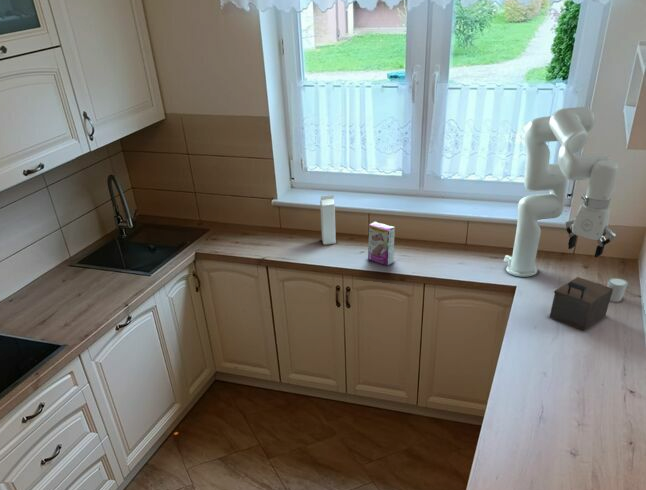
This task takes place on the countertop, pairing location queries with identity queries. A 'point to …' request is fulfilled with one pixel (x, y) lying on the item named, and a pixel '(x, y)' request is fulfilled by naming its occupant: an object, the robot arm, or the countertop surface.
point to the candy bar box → (381, 243)
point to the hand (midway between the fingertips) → (584, 251)
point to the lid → (583, 291)
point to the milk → (328, 219)
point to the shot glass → (617, 288)
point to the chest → (579, 311)
